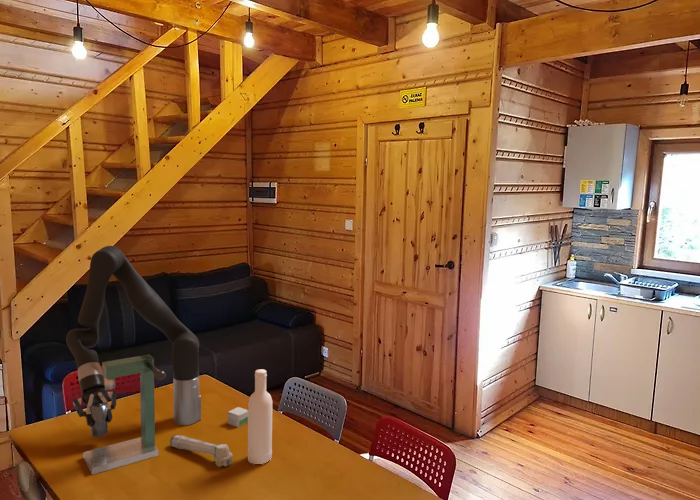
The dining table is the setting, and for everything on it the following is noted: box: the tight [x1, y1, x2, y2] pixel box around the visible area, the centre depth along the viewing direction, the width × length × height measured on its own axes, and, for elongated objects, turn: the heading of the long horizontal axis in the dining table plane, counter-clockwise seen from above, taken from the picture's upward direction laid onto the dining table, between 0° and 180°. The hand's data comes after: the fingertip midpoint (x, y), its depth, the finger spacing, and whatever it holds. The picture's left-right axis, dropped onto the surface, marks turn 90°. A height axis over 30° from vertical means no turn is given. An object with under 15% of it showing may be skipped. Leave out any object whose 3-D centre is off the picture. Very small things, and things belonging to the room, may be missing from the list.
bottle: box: [247, 368, 273, 465], centre depth 167 cm, size 8×8×30 cm
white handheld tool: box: [169, 434, 233, 468], centre depth 169 cm, size 5×7×25 cm
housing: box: [90, 402, 109, 438], centre depth 173 cm, size 5×5×10 cm
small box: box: [227, 406, 248, 428], centre depth 194 cm, size 6×6×5 cm
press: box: [82, 354, 167, 475], centre depth 162 cm, size 20×21×32 cm
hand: (100, 423), depth 172 cm, fingers closed on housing, 5 cm apart
